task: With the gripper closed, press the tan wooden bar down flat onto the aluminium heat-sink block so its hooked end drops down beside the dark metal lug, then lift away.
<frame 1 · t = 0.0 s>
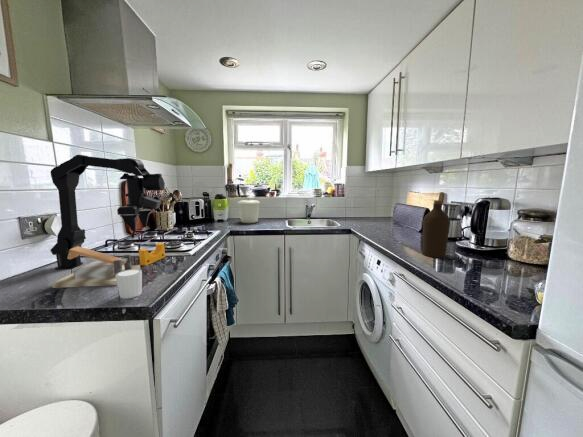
hand: (139, 229, 105), 15 cm above the worktop, fingers open, 9 cm apart
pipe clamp: (151, 261, 111), on the worktop
canister: (249, 222, 207), on the worktop
olive oil: (433, 255, 118), on the worktop
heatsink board: (100, 277, 92), on the worktop
white cylinder: (131, 295, 79), on the worktop
tan wooden bar: (98, 258, 91), point 7 cm above the worktop, hinge at 20.0°
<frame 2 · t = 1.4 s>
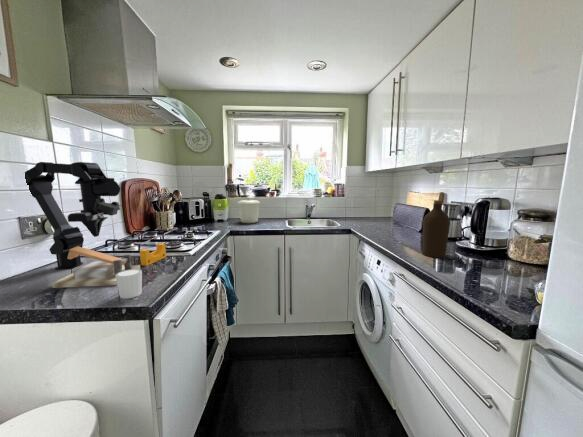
hand: (96, 236, 100), 13 cm above the worktop, fingers closed
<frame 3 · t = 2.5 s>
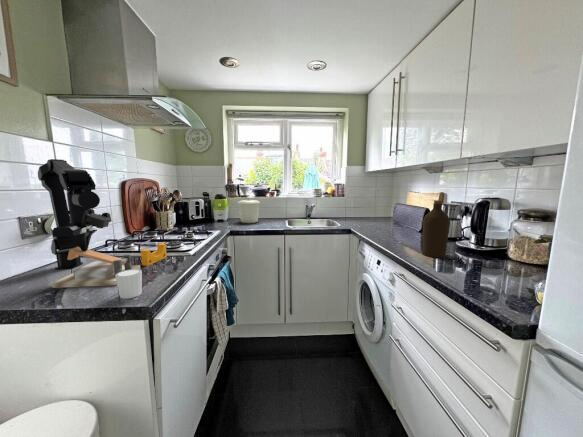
hand: (85, 251, 91), 10 cm above the worktop, fingers closed, pressing on tan wooden bar
tan wooden bar: (98, 258, 91), point 7 cm above the worktop, hinge at 19.2°, touching gripper
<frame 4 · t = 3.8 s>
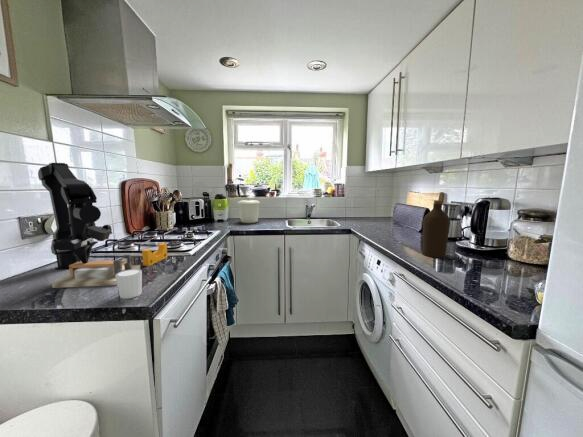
hand: (85, 263, 91), 5 cm above the worktop, fingers closed, pressing on tan wooden bar
tan wooden bar: (99, 266, 92), point 4 cm above the worktop, hinge at -0.5°, touching gripper, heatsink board
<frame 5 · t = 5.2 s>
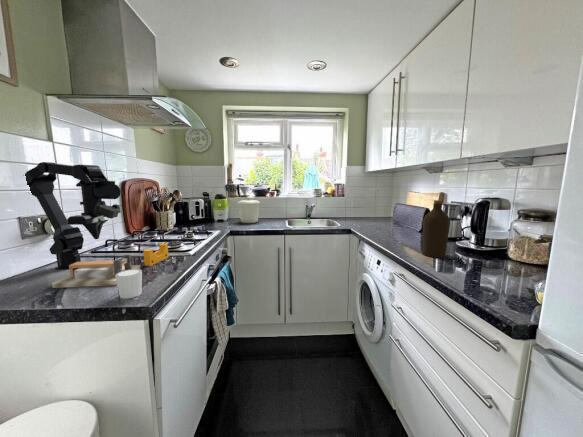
hand: (96, 238, 99), 12 cm above the worktop, fingers closed
tan wooden bar: (99, 266, 92), point 4 cm above the worktop, hinge at -0.4°, touching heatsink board
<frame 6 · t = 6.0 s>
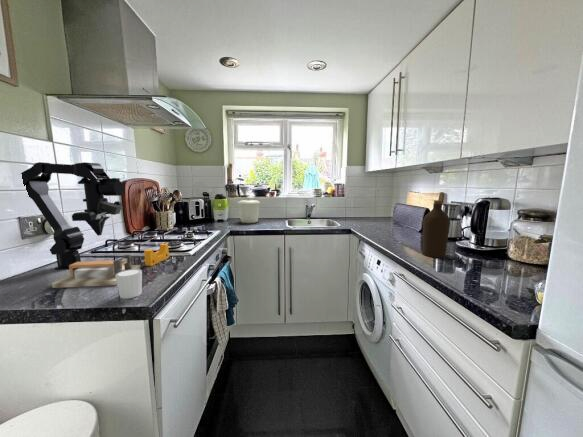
hand: (99, 235, 102), 13 cm above the worktop, fingers closed
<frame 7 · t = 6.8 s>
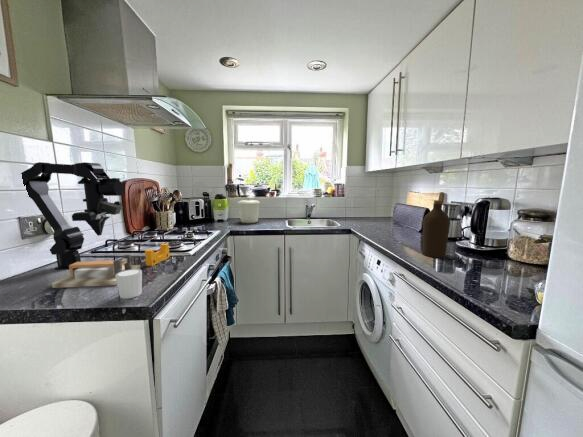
hand: (99, 235, 102), 13 cm above the worktop, fingers closed
at the end: tan wooden bar at +0° (first picture: +20°) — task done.
